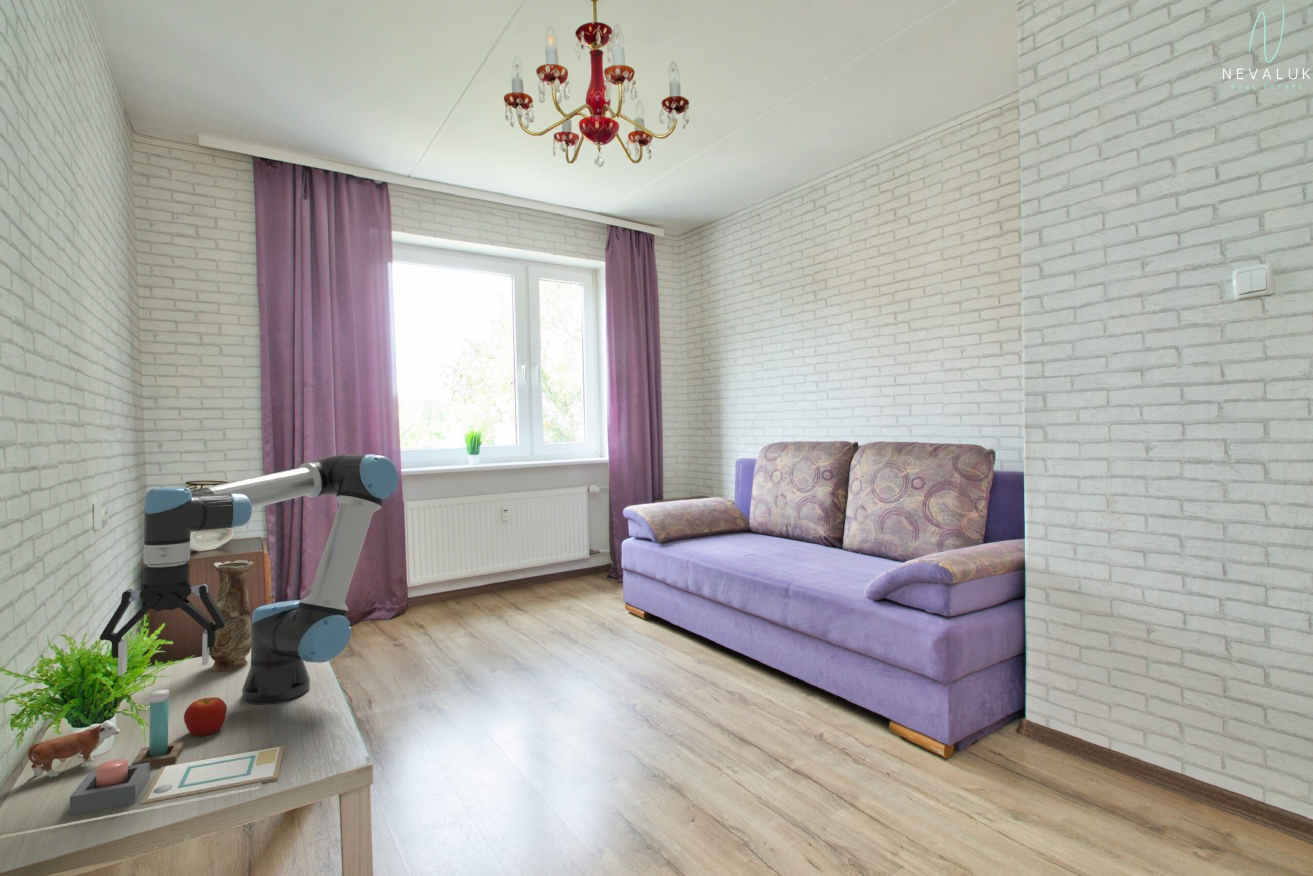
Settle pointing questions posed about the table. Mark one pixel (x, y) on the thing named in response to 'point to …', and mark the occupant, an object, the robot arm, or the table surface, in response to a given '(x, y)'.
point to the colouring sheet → (215, 774)
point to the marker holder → (168, 759)
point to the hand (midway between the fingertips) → (164, 668)
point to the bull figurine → (69, 747)
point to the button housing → (109, 791)
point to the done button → (111, 773)
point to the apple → (205, 716)
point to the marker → (158, 723)
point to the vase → (232, 617)
